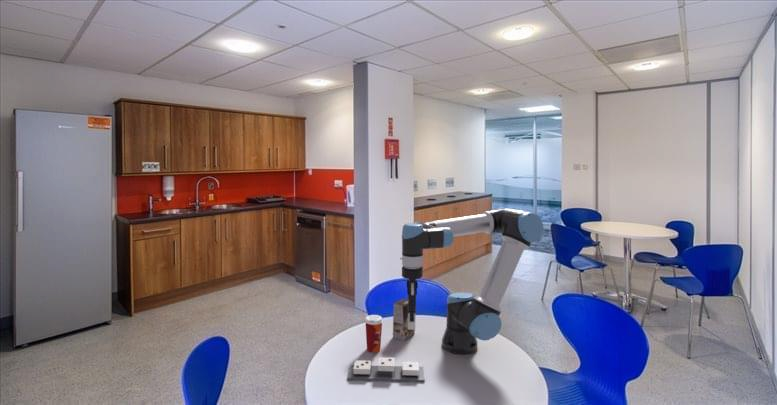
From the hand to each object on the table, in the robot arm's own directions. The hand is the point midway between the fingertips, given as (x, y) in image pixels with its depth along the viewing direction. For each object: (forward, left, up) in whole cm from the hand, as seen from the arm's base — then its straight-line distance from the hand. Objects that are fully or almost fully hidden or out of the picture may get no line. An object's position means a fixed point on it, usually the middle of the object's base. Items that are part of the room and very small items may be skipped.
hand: (411, 328), depth 142 cm
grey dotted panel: (+9, 0, -18) cm, 20 cm away
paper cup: (+15, -19, -18) cm, 30 cm away
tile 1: (0, 0, -16) cm, 16 cm away
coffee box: (+2, -33, -18) cm, 38 cm away
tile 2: (+9, 0, -15) cm, 18 cm away
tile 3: (+18, 0, -16) cm, 24 cm away
